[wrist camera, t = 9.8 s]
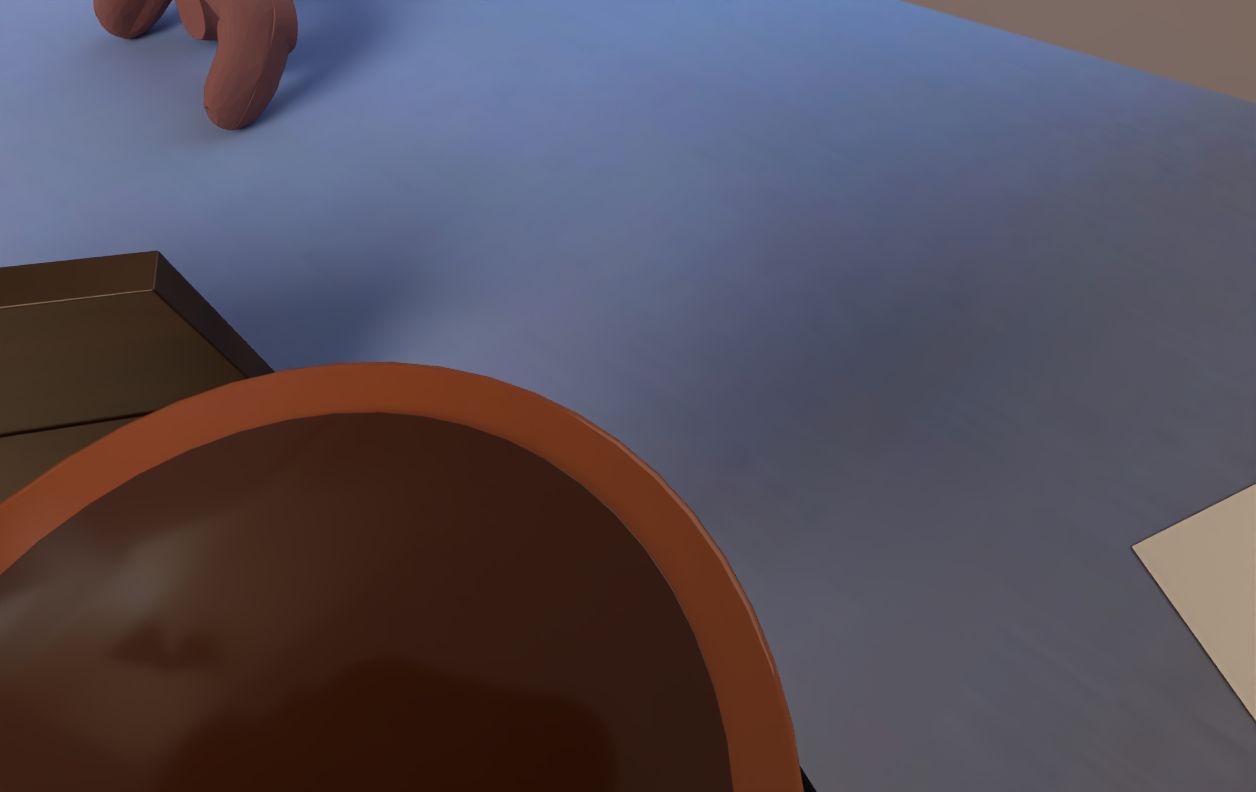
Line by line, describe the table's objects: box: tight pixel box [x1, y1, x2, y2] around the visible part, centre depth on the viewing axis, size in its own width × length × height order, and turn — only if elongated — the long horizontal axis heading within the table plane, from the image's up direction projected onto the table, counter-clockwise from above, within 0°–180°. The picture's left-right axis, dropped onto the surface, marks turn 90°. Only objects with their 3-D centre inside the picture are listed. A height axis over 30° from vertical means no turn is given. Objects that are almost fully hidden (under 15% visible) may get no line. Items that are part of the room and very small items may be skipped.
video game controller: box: [93, 0, 298, 130], centre depth 27 cm, size 10×5×7 cm, turn 49°
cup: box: [0, 362, 804, 792], centre depth 8 cm, size 6×6×9 cm
